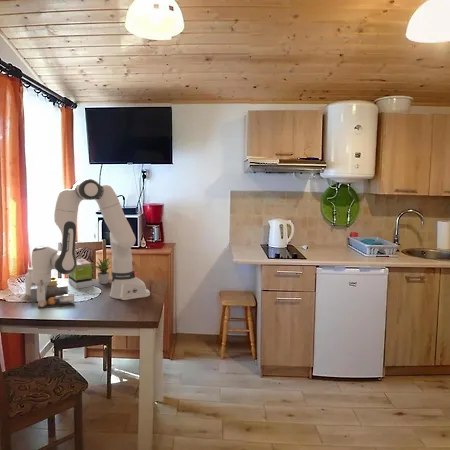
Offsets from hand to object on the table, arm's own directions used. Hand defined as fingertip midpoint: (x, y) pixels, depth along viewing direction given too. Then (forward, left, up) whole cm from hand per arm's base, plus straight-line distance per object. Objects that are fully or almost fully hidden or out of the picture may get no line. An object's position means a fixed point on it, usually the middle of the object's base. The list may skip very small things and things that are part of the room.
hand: (42, 304), depth 205 cm
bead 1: (0, 0, -1) cm, 1 cm away
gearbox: (-3, -14, -2) cm, 14 cm away
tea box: (-19, -38, -2) cm, 43 cm away
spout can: (-10, -1, -1) cm, 10 cm away
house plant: (-33, -40, -2) cm, 52 cm away
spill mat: (-6, -1, -2) cm, 7 cm away
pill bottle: (+6, -25, -2) cm, 26 cm away
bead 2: (-4, -2, -1) cm, 5 cm away
